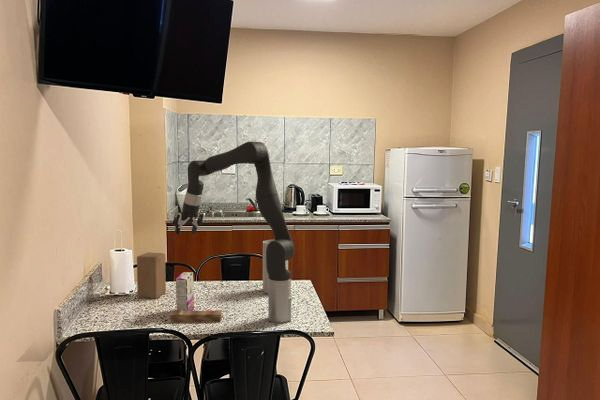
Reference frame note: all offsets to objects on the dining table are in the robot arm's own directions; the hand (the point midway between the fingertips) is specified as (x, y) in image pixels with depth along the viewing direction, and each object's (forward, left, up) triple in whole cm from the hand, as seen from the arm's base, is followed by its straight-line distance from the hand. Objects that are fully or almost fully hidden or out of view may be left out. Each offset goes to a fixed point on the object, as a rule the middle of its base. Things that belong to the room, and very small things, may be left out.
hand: (185, 234), depth 219 cm
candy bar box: (-4, +23, -30) cm, 38 cm away
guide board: (-10, +32, -30) cm, 45 cm away
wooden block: (+16, -3, -30) cm, 35 cm away
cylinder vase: (-43, -8, -30) cm, 53 cm away
